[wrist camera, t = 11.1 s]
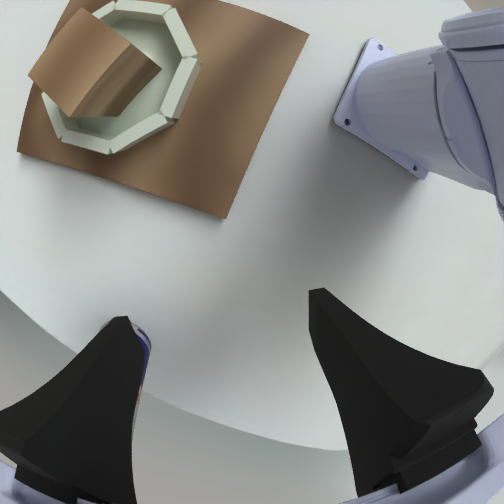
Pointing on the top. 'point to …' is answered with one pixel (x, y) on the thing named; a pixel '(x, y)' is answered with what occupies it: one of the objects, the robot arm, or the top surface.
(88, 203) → the top surface
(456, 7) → the top surface
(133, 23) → the octagonal green bowl
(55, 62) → the brown wooden block
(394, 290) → the top surface
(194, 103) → the walnut board
